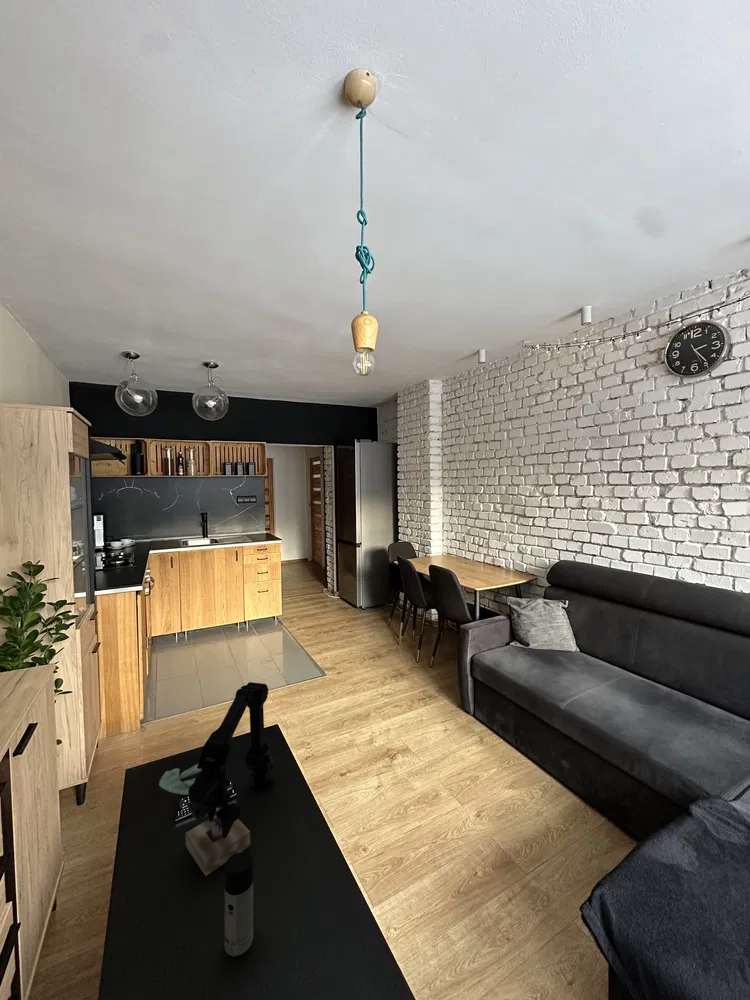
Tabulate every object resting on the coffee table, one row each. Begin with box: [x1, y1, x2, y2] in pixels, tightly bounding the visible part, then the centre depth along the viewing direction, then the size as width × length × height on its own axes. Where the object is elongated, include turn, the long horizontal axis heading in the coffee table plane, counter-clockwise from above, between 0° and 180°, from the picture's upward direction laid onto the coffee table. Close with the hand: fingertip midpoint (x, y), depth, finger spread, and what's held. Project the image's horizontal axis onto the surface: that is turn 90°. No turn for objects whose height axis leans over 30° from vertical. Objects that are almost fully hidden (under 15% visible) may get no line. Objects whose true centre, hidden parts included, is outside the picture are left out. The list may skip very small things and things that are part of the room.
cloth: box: [158, 763, 202, 796], centre depth 159 cm, size 20×22×2 cm
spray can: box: [223, 851, 254, 958], centre depth 101 cm, size 7×7×20 cm
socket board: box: [185, 814, 251, 877], centre depth 129 cm, size 14×14×4 cm
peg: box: [212, 818, 223, 843], centre depth 129 cm, size 4×4×8 cm
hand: (218, 829), depth 129 cm, fingers open, 9 cm apart
